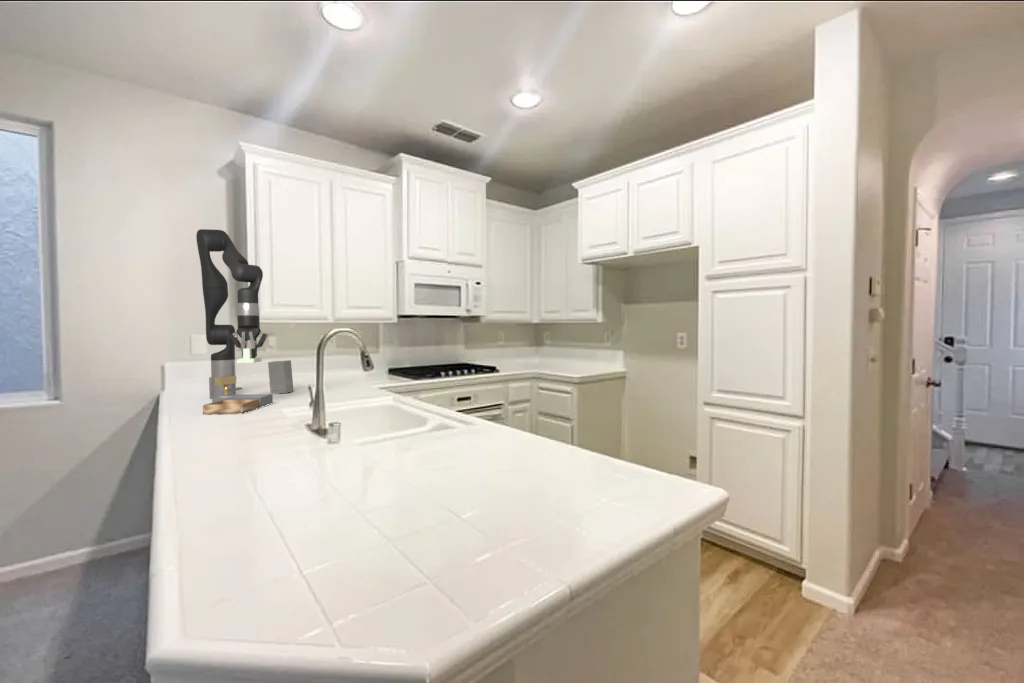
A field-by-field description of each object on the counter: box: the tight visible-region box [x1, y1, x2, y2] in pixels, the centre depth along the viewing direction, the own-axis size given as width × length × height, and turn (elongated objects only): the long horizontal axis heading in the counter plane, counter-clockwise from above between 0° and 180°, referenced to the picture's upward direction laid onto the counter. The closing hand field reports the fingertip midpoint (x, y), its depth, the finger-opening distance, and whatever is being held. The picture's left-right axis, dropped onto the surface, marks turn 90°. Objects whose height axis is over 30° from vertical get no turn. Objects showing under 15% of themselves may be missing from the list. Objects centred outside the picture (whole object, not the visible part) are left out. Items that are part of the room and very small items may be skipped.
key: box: [215, 375, 243, 396], centre depth 176 cm, size 12×2×8 cm, turn 171°
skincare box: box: [267, 360, 294, 394], centre depth 213 cm, size 8×7×16 cm
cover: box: [236, 347, 262, 364], centre depth 174 cm, size 6×8×6 cm
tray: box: [202, 399, 260, 416], centre depth 163 cm, size 14×12×4 cm
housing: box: [211, 393, 274, 408], centre depth 175 cm, size 18×10×4 cm, turn 95°
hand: (249, 358), depth 174 cm, fingers closed on cover, 2 cm apart
